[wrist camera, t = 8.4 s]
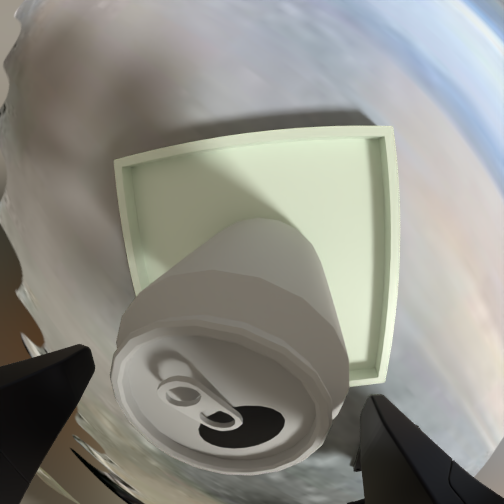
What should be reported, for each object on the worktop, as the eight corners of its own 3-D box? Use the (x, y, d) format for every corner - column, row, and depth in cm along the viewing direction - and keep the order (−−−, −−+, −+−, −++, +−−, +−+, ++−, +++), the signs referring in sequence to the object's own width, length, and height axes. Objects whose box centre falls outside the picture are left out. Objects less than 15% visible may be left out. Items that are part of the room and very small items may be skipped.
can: (251, 345, 19) (208, 497, 8) (181, 262, 18) (55, 367, 7) (344, 288, 17) (400, 441, 6) (273, 190, 16) (225, 217, 5)
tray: (378, 366, 19) (384, 382, 17) (171, 370, 22) (162, 384, 20) (382, 131, 15) (392, 126, 13) (129, 160, 18) (113, 160, 16)
